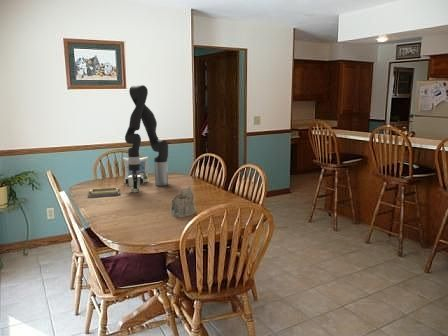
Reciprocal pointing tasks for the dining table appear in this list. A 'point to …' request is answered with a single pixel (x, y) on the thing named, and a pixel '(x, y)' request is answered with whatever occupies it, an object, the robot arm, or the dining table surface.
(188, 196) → the grey rock
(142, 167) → the pouch
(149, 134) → the robot arm
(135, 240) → the dining table surface
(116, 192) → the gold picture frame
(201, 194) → the dining table surface
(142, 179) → the pneumatic valve
